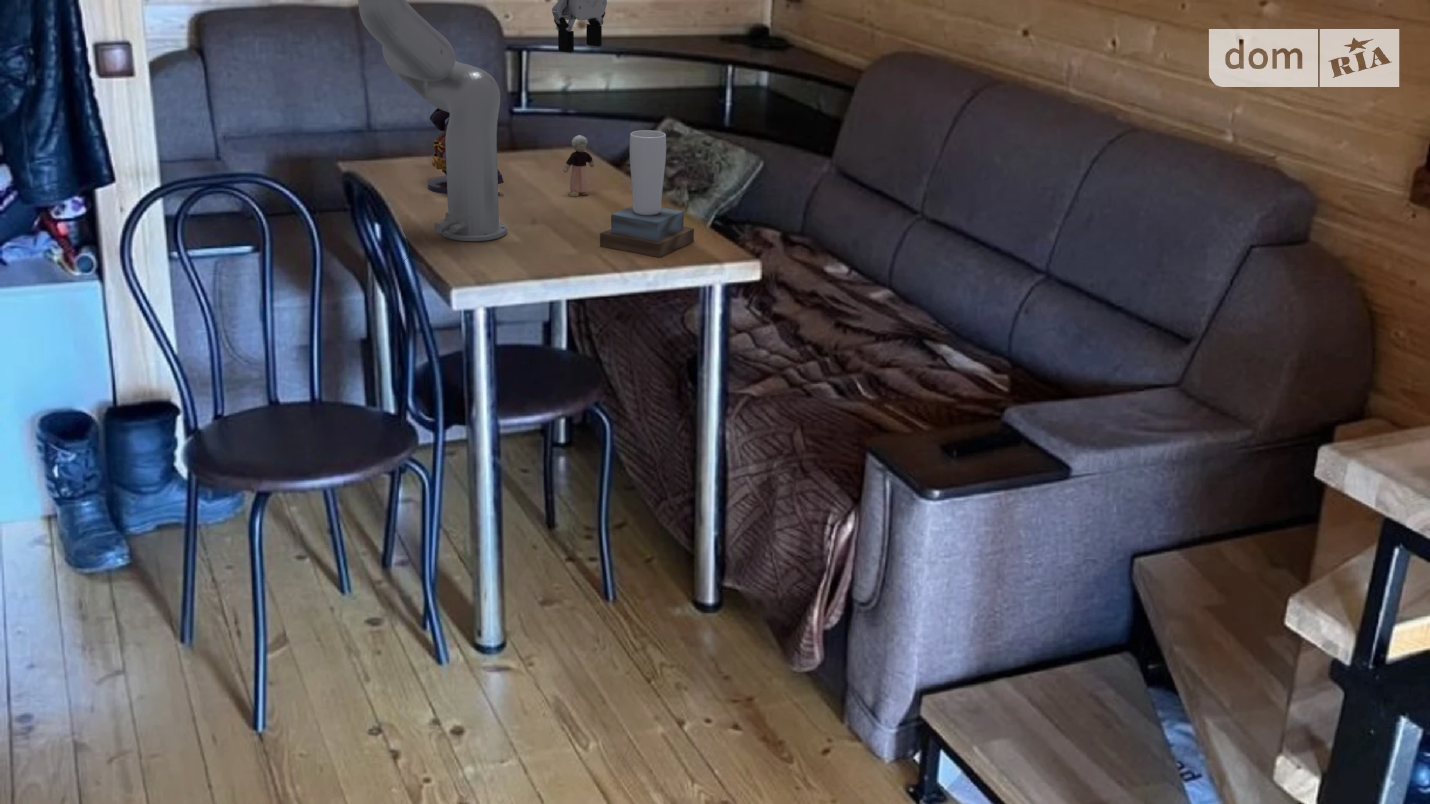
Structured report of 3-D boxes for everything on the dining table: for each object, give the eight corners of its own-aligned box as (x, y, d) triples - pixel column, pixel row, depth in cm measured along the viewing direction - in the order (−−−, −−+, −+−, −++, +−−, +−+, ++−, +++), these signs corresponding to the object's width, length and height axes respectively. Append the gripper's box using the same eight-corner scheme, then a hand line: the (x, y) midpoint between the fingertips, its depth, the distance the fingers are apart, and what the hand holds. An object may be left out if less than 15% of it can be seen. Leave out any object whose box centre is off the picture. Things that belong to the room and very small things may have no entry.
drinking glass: (645, 206, 276) (646, 128, 270) (672, 212, 272) (673, 134, 266) (621, 212, 271) (622, 133, 265) (648, 219, 267) (649, 139, 261)
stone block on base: (659, 257, 266) (660, 225, 263) (600, 245, 271) (600, 215, 269) (693, 241, 276) (694, 210, 274) (635, 230, 282) (636, 200, 280)
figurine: (506, 195, 303) (504, 117, 297) (442, 201, 298) (439, 121, 291) (478, 174, 320) (475, 99, 314) (417, 179, 314) (413, 102, 308)
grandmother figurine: (574, 199, 303) (574, 139, 298) (561, 195, 305) (560, 136, 300) (598, 192, 308) (599, 133, 304) (585, 189, 311) (585, 131, 306)
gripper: (571, -39, 262) (571, 56, 269) (621, -46, 276) (620, 45, 283) (537, -42, 265) (538, 52, 272) (588, -49, 279) (588, 41, 286)
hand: (580, 48), depth 277 cm, fingers open, 9 cm apart
